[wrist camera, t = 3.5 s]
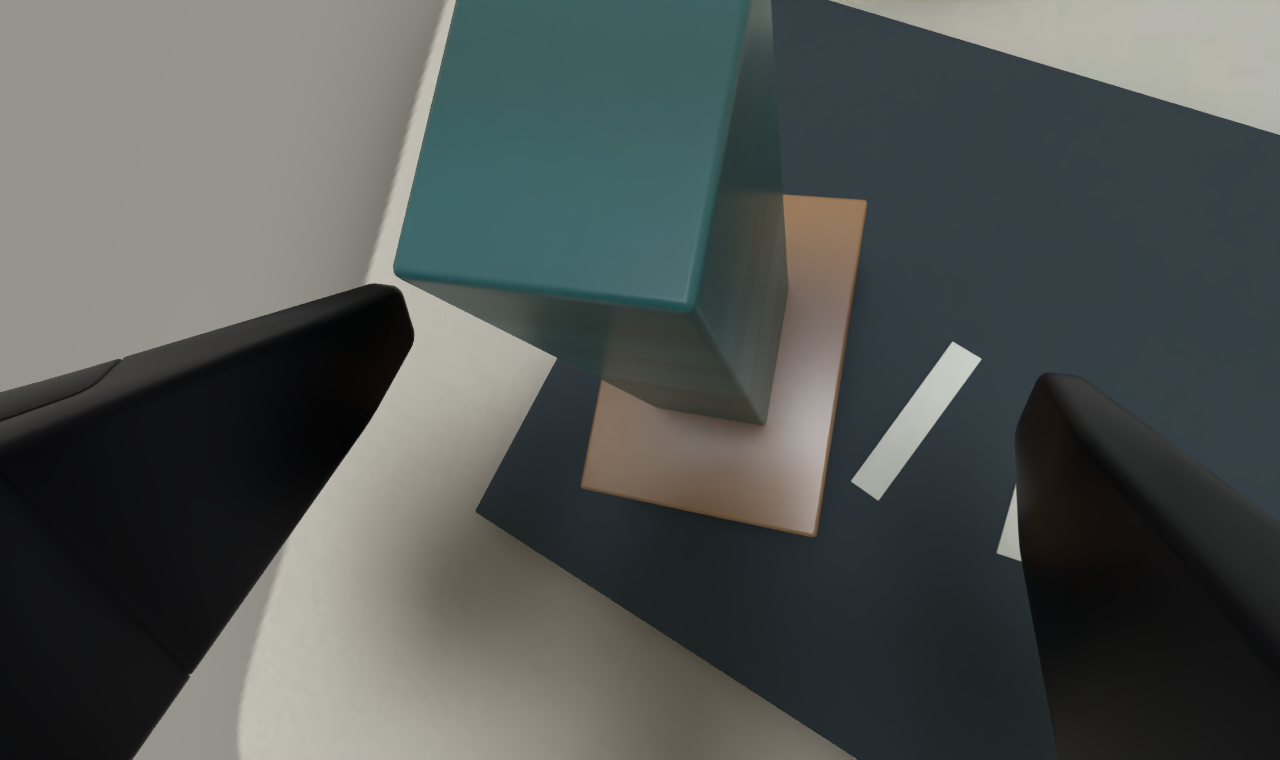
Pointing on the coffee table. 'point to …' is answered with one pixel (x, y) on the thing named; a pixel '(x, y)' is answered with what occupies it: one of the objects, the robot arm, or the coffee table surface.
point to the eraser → (644, 240)
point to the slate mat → (947, 379)
